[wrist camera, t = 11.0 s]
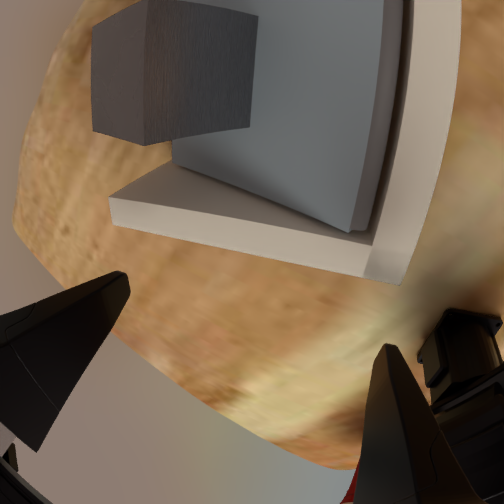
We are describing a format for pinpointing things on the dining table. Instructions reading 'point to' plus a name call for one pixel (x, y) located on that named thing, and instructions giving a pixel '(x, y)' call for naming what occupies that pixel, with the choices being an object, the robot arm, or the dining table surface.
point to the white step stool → (306, 227)
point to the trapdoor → (311, 108)
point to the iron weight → (172, 71)
